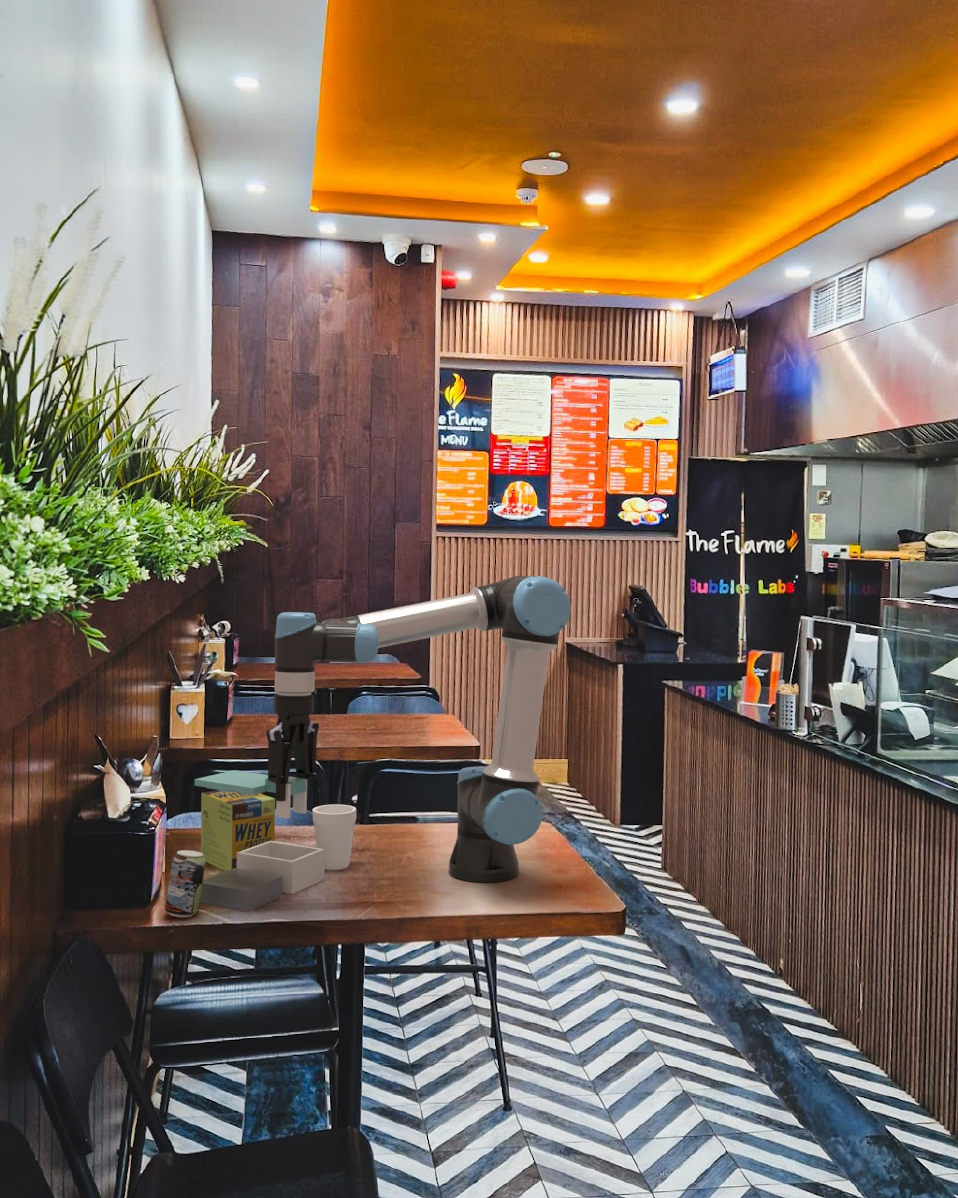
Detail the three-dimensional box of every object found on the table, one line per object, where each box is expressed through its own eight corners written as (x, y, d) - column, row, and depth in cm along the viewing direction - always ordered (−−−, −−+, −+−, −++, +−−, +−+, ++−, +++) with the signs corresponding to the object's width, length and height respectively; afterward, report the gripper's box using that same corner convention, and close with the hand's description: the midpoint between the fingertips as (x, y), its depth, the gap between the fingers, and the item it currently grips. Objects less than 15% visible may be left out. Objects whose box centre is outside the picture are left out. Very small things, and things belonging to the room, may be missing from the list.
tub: (324, 882, 220) (324, 849, 220) (292, 897, 210) (292, 862, 210) (269, 873, 226) (270, 840, 226) (236, 886, 216) (236, 852, 216)
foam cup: (347, 876, 225) (347, 815, 224) (306, 873, 227) (306, 813, 226) (361, 864, 234) (361, 805, 234) (321, 861, 236) (321, 803, 236)
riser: (282, 899, 209) (282, 876, 209) (246, 915, 199) (246, 891, 199) (234, 890, 214) (234, 868, 214) (196, 905, 204) (197, 882, 204)
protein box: (231, 877, 223) (231, 804, 222) (199, 861, 235) (200, 792, 234) (275, 869, 229) (276, 798, 229) (243, 854, 241) (243, 786, 241)
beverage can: (159, 915, 198) (159, 852, 198) (194, 907, 203) (194, 845, 203) (175, 923, 194) (175, 858, 193) (211, 915, 199) (211, 851, 199)
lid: (317, 791, 206) (317, 775, 206) (279, 801, 196) (280, 785, 196) (234, 779, 216) (234, 764, 216) (194, 788, 206) (194, 773, 206)
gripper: (305, 687, 211) (303, 804, 212) (248, 695, 195) (246, 821, 196) (336, 690, 207) (334, 809, 208) (281, 699, 192) (278, 826, 193)
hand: (291, 814), depth 202 cm, fingers closed on lid, 4 cm apart
